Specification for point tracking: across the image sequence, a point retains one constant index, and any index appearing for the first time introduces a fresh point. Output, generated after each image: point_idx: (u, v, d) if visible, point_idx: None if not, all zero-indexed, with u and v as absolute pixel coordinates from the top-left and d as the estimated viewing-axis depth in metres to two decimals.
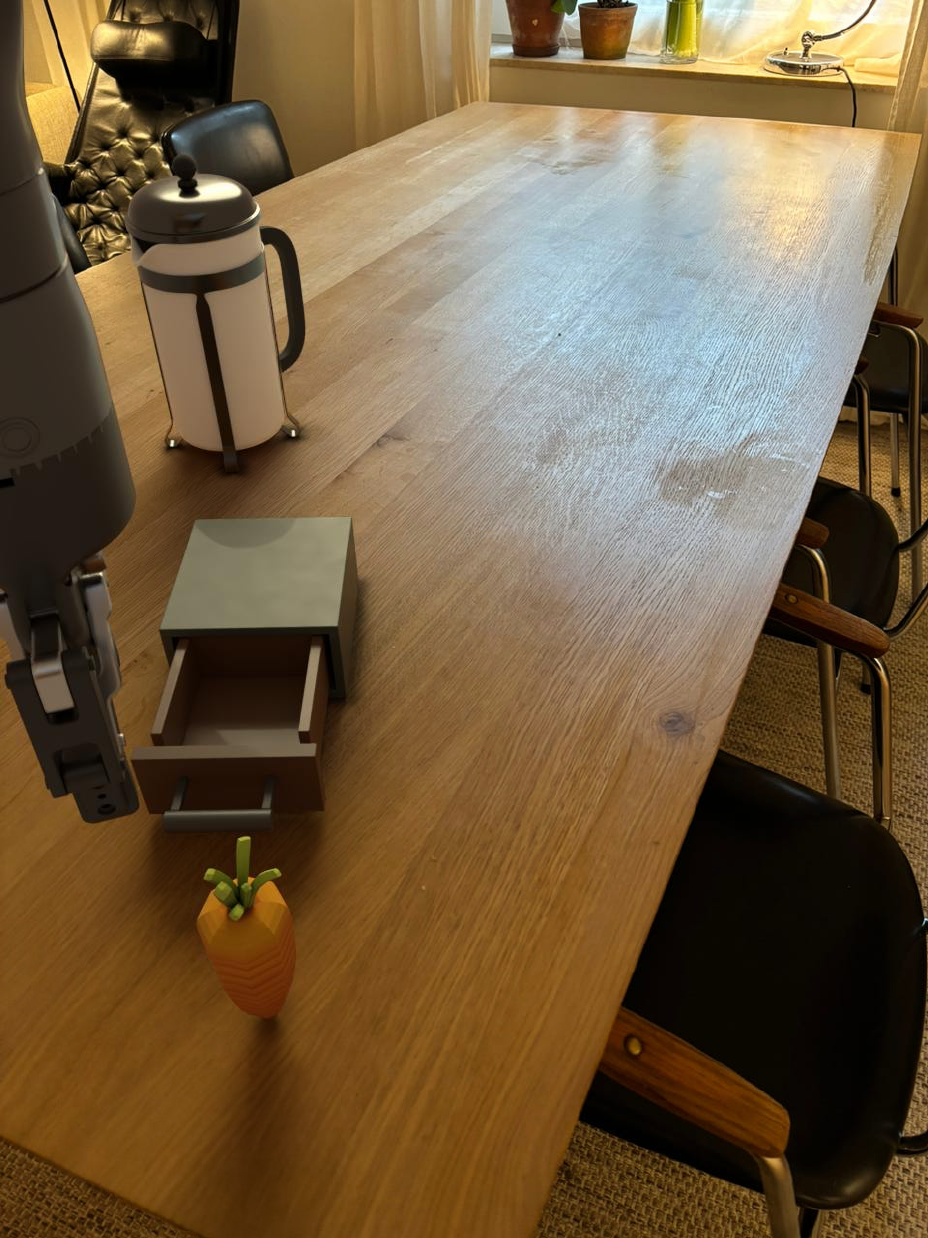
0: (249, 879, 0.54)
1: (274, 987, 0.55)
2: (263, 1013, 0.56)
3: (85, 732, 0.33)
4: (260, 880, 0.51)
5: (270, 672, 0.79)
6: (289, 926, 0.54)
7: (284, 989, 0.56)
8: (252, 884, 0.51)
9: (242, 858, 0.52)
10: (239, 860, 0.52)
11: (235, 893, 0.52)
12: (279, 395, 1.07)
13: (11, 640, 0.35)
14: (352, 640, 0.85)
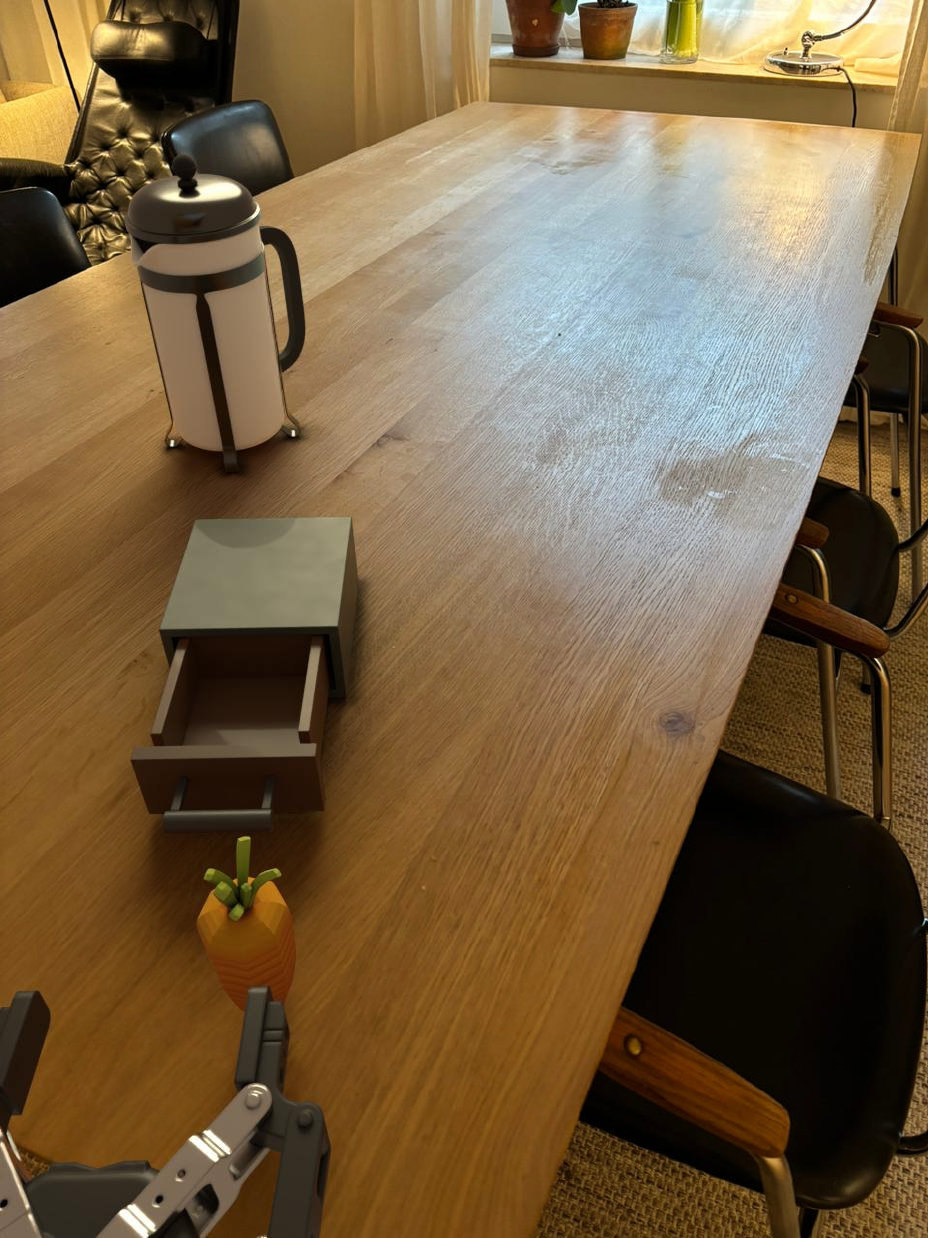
0: (249, 879, 0.54)
1: (274, 987, 0.55)
2: None
3: None
4: (260, 880, 0.51)
5: (270, 672, 0.79)
6: (289, 926, 0.54)
7: (284, 989, 0.56)
8: (252, 884, 0.51)
9: (242, 858, 0.52)
10: (239, 860, 0.52)
11: (235, 893, 0.52)
12: (279, 395, 1.07)
13: None
14: (352, 640, 0.85)
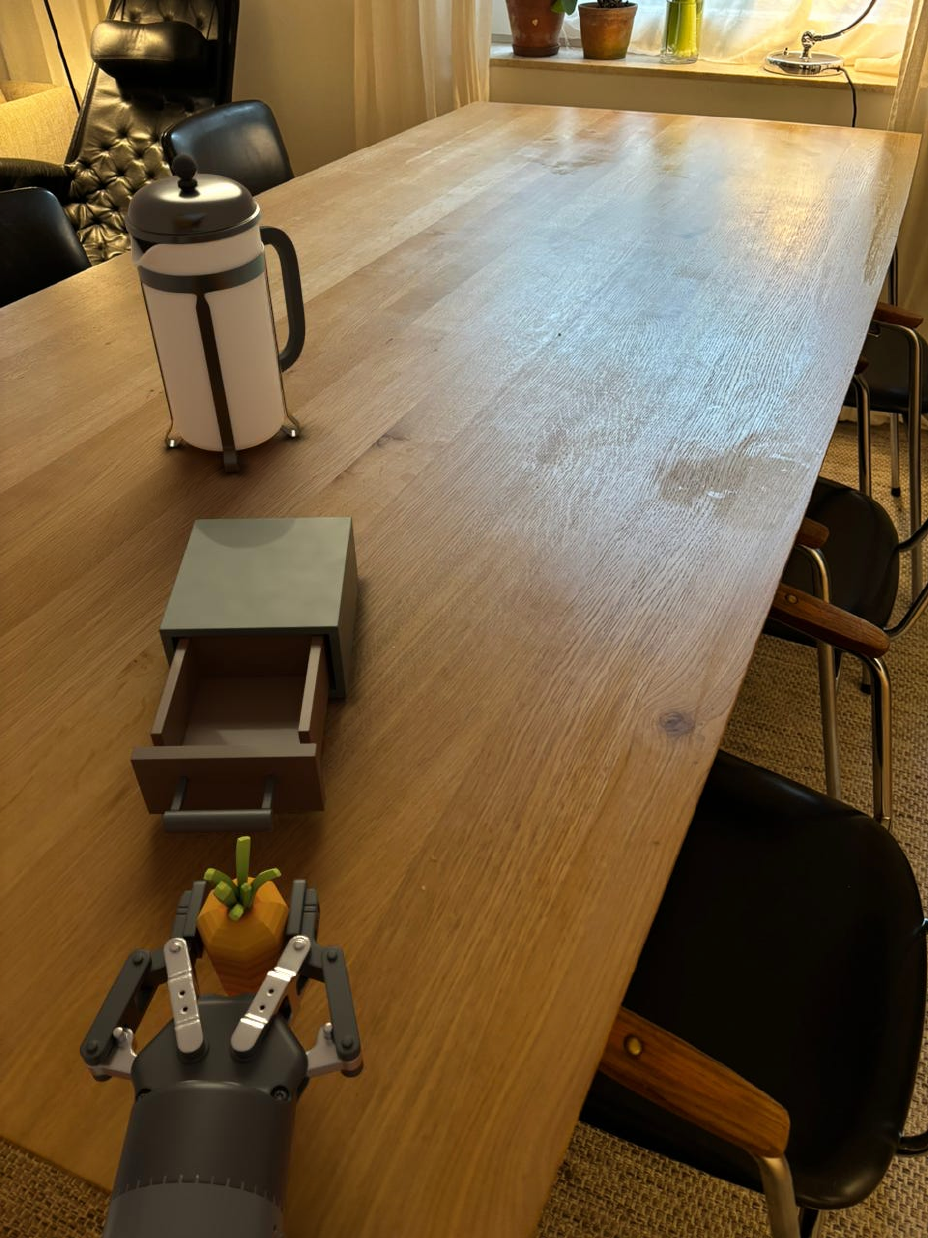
0: (249, 879, 0.54)
1: None
2: None
3: None
4: (260, 880, 0.51)
5: (270, 672, 0.79)
6: None
7: None
8: (252, 884, 0.51)
9: (241, 858, 0.52)
10: (239, 860, 0.52)
11: (235, 893, 0.52)
12: (279, 395, 1.07)
13: None
14: (352, 640, 0.85)
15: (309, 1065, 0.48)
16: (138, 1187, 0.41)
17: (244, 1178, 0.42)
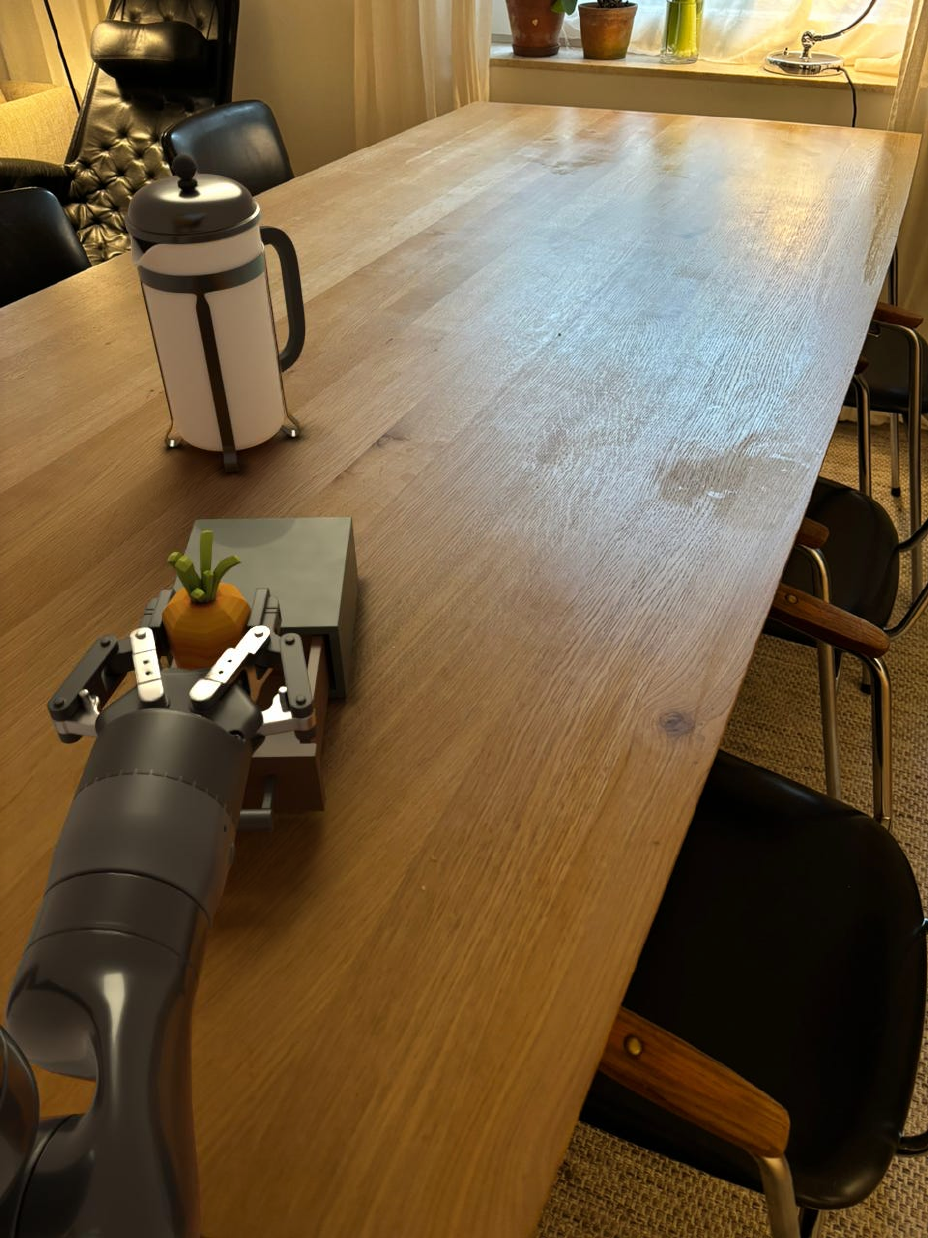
0: None
1: None
2: None
3: None
4: (221, 566, 0.54)
5: None
6: None
7: None
8: (214, 572, 0.54)
9: (204, 548, 0.54)
10: (202, 551, 0.54)
11: (198, 584, 0.55)
12: (279, 395, 1.07)
13: None
14: (352, 640, 0.85)
15: (264, 720, 0.50)
16: (96, 781, 0.44)
17: (196, 779, 0.44)
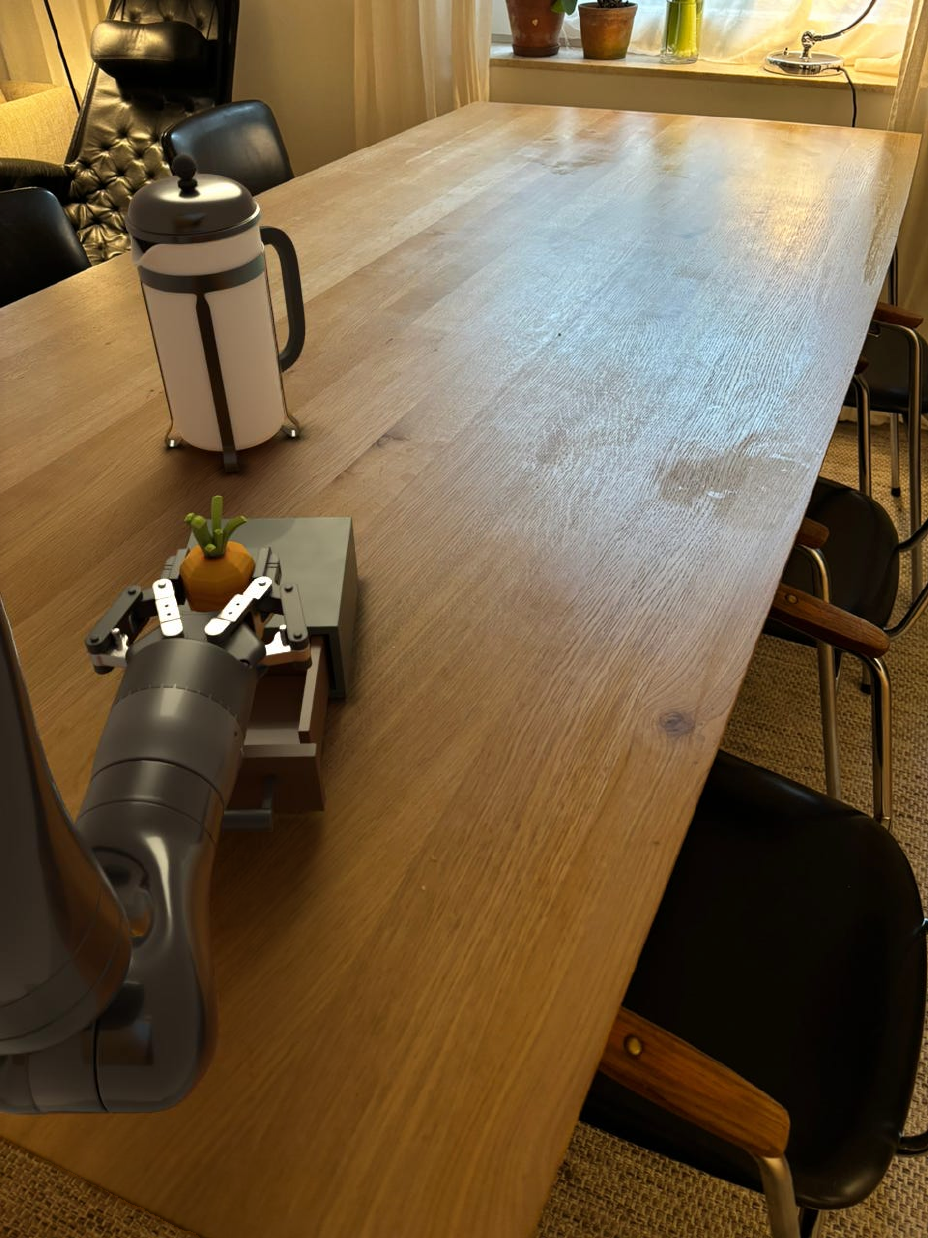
0: None
1: None
2: None
3: None
4: (230, 525, 0.63)
5: (270, 672, 0.79)
6: None
7: None
8: (224, 531, 0.64)
9: (215, 511, 0.64)
10: (213, 513, 0.64)
11: (210, 542, 0.64)
12: (279, 395, 1.07)
13: None
14: (352, 640, 0.85)
15: (267, 652, 0.60)
16: (129, 694, 0.53)
17: (211, 693, 0.54)
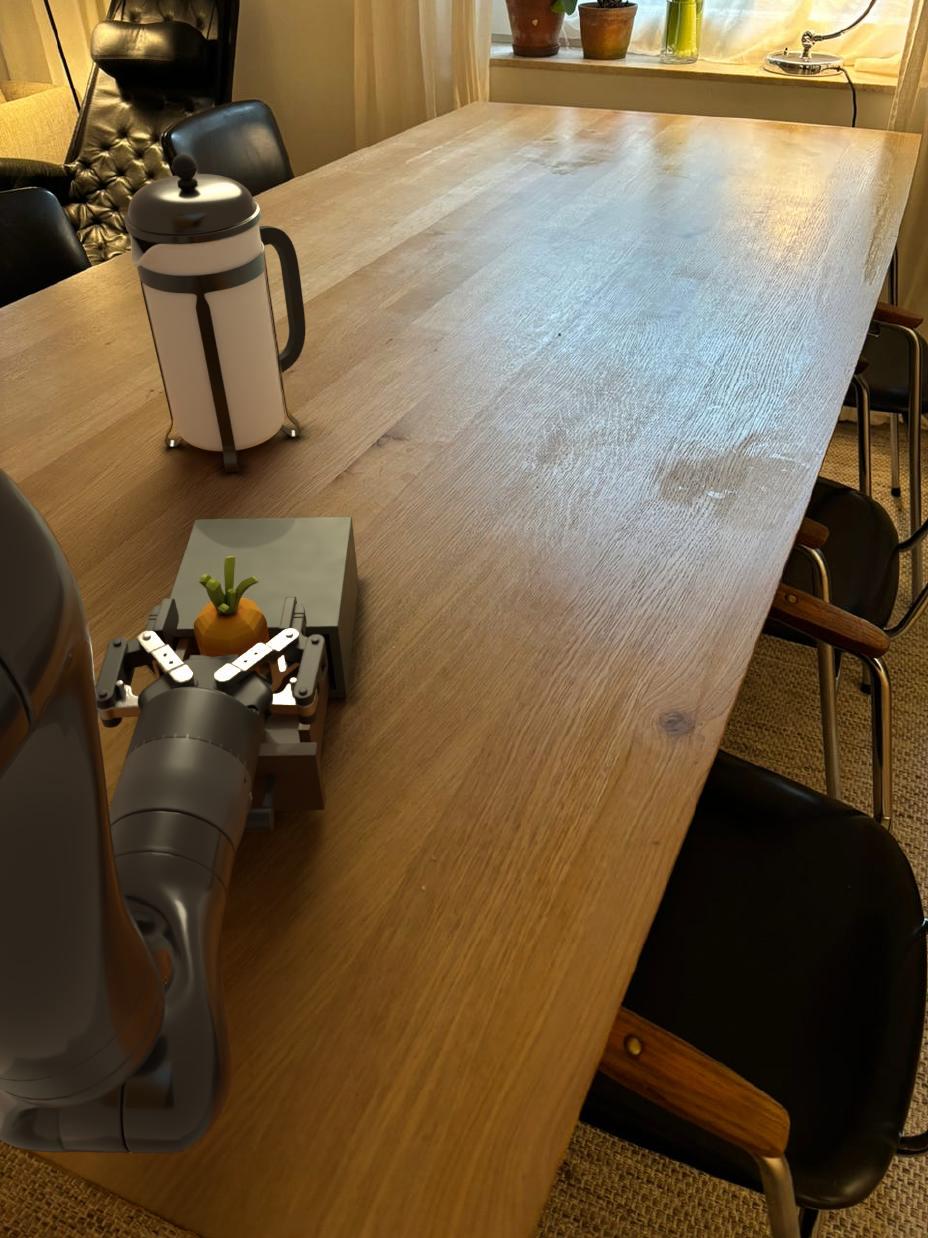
0: None
1: None
2: None
3: None
4: (242, 585, 0.66)
5: None
6: (265, 632, 0.69)
7: None
8: (236, 590, 0.67)
9: (228, 571, 0.67)
10: (226, 573, 0.67)
11: (223, 600, 0.67)
12: (279, 395, 1.07)
13: (167, 673, 0.63)
14: (352, 640, 0.85)
15: (274, 697, 0.62)
16: (144, 743, 0.56)
17: (222, 742, 0.56)
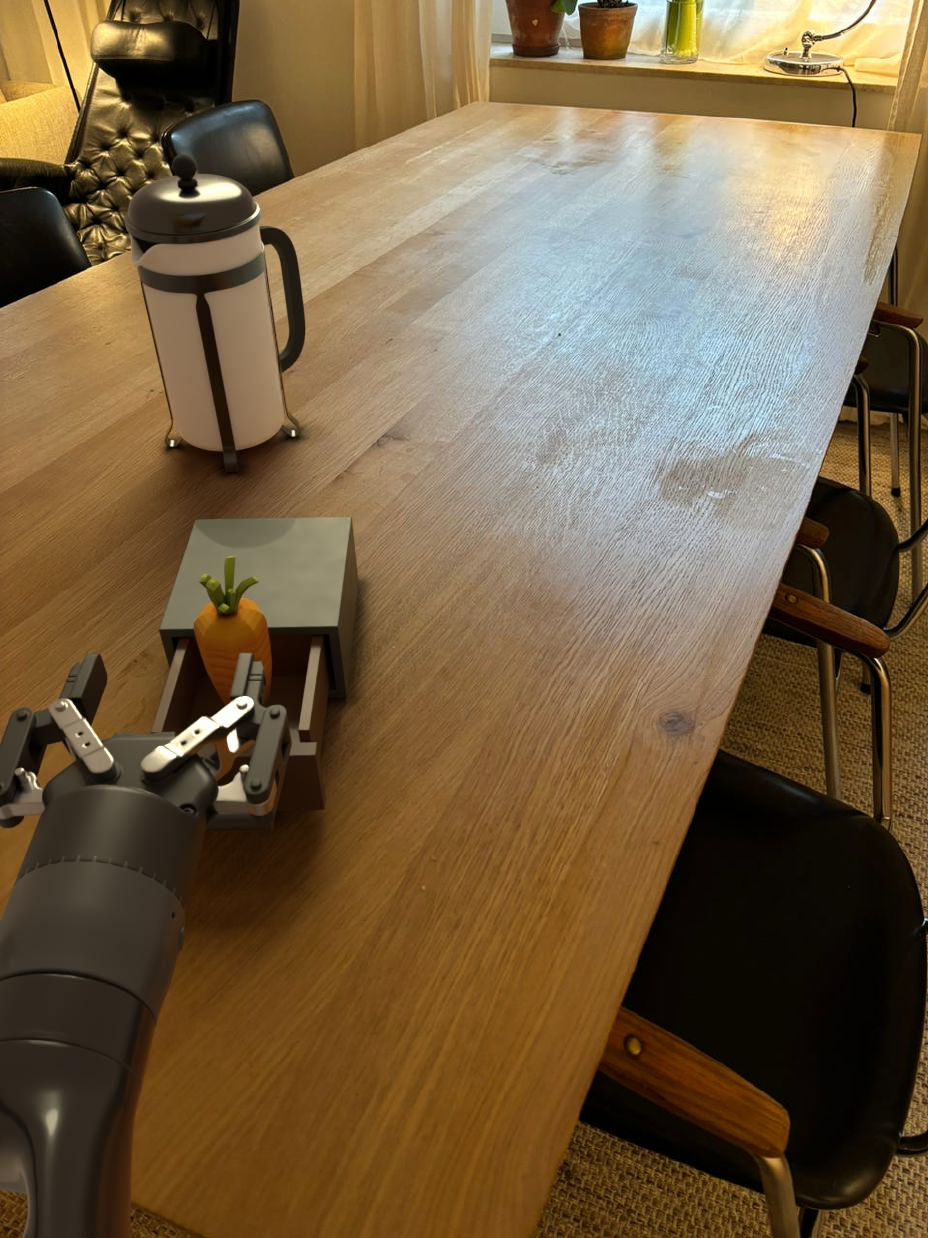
0: None
1: None
2: None
3: None
4: (242, 585, 0.66)
5: None
6: (266, 632, 0.69)
7: None
8: (236, 590, 0.67)
9: (228, 571, 0.67)
10: (226, 573, 0.67)
11: (223, 600, 0.67)
12: (279, 395, 1.07)
13: (81, 759, 0.49)
14: (352, 640, 0.85)
15: (219, 791, 0.48)
16: (37, 868, 0.42)
17: (143, 864, 0.42)
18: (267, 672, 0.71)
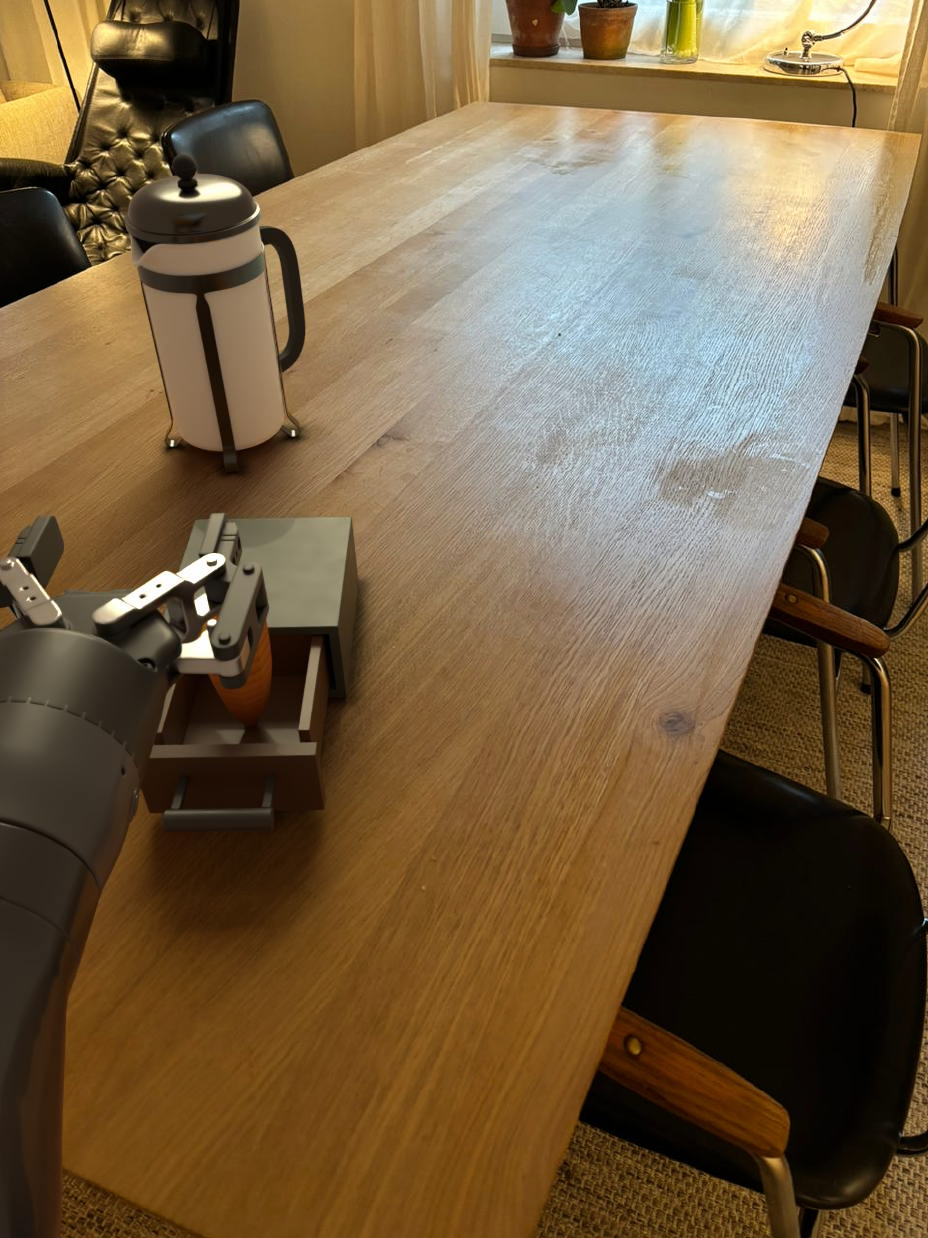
0: None
1: (254, 684, 0.70)
2: (246, 711, 0.72)
3: None
4: None
5: None
6: (266, 632, 0.69)
7: (262, 689, 0.71)
8: None
9: None
10: None
11: None
12: (279, 395, 1.07)
13: (25, 613, 0.42)
14: (352, 640, 0.85)
15: (183, 648, 0.42)
16: None
17: (87, 710, 0.36)
18: (267, 672, 0.71)
